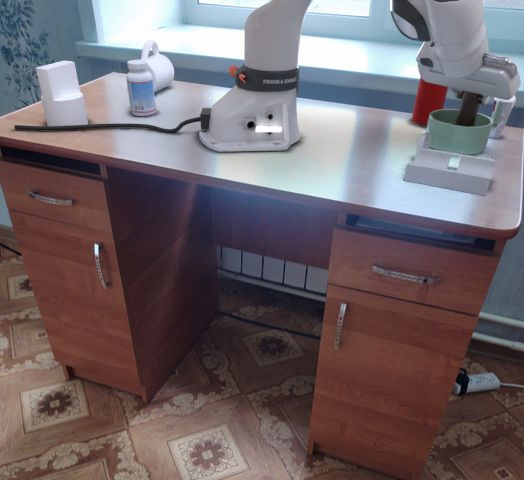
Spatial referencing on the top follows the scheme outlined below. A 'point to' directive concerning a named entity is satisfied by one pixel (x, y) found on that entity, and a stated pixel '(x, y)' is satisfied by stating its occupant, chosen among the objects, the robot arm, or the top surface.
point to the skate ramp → (438, 174)
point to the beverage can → (428, 101)
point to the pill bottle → (140, 88)
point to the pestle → (467, 109)
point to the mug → (158, 66)
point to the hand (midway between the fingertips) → (472, 98)
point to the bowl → (458, 132)
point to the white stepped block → (61, 94)
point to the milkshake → (500, 115)
